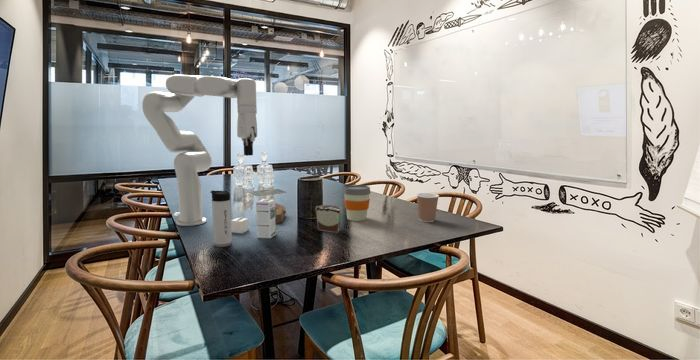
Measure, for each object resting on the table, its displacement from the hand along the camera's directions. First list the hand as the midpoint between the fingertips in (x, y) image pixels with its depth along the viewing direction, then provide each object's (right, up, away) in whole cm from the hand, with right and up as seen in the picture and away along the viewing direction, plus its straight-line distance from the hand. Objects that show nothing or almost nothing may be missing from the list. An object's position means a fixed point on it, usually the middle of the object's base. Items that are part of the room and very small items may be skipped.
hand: (248, 155), depth 157 cm
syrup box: (+9, -33, -7) cm, 34 cm away
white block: (-4, -32, 0) cm, 32 cm away
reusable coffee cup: (+45, -29, +23) cm, 58 cm away
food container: (+34, -31, +4) cm, 46 cm away
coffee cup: (+78, -29, +21) cm, 86 cm away
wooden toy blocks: (+5, -29, +21) cm, 36 cm away
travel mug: (-5, -34, -17) cm, 39 cm away
